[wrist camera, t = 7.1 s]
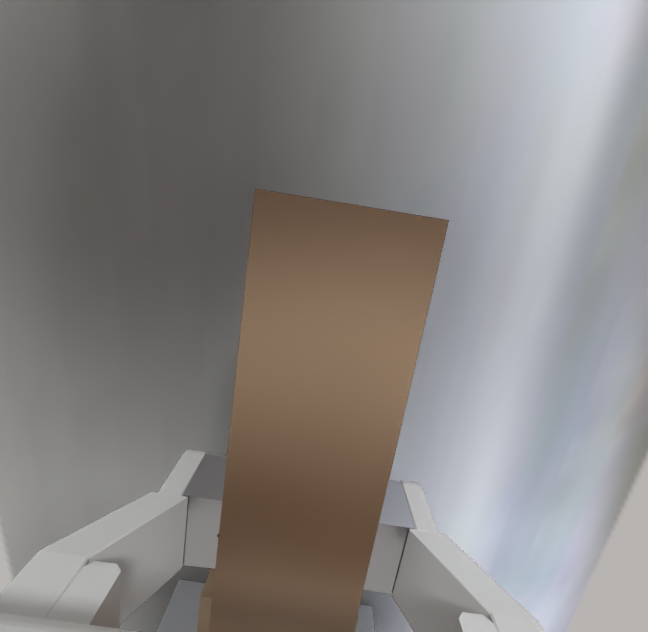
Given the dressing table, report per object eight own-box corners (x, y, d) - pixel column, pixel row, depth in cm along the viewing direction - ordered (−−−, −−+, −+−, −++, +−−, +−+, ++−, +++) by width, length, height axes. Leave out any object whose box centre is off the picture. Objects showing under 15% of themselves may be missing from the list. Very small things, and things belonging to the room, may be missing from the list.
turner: (247, 199, 9) (190, 177, 5) (436, 230, 9) (512, 230, 6) (195, 711, 14) (143, 902, 10) (324, 727, 14) (322, 922, 10)
